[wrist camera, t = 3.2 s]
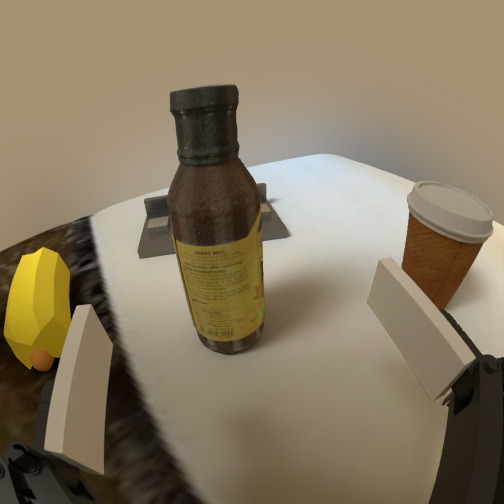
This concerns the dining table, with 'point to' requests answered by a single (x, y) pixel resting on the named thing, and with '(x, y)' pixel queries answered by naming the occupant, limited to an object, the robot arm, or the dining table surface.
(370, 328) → the dining table surface
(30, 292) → the hot dog
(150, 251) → the bottle holder
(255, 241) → the sauce bottle
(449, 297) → the disposable coffee cup
